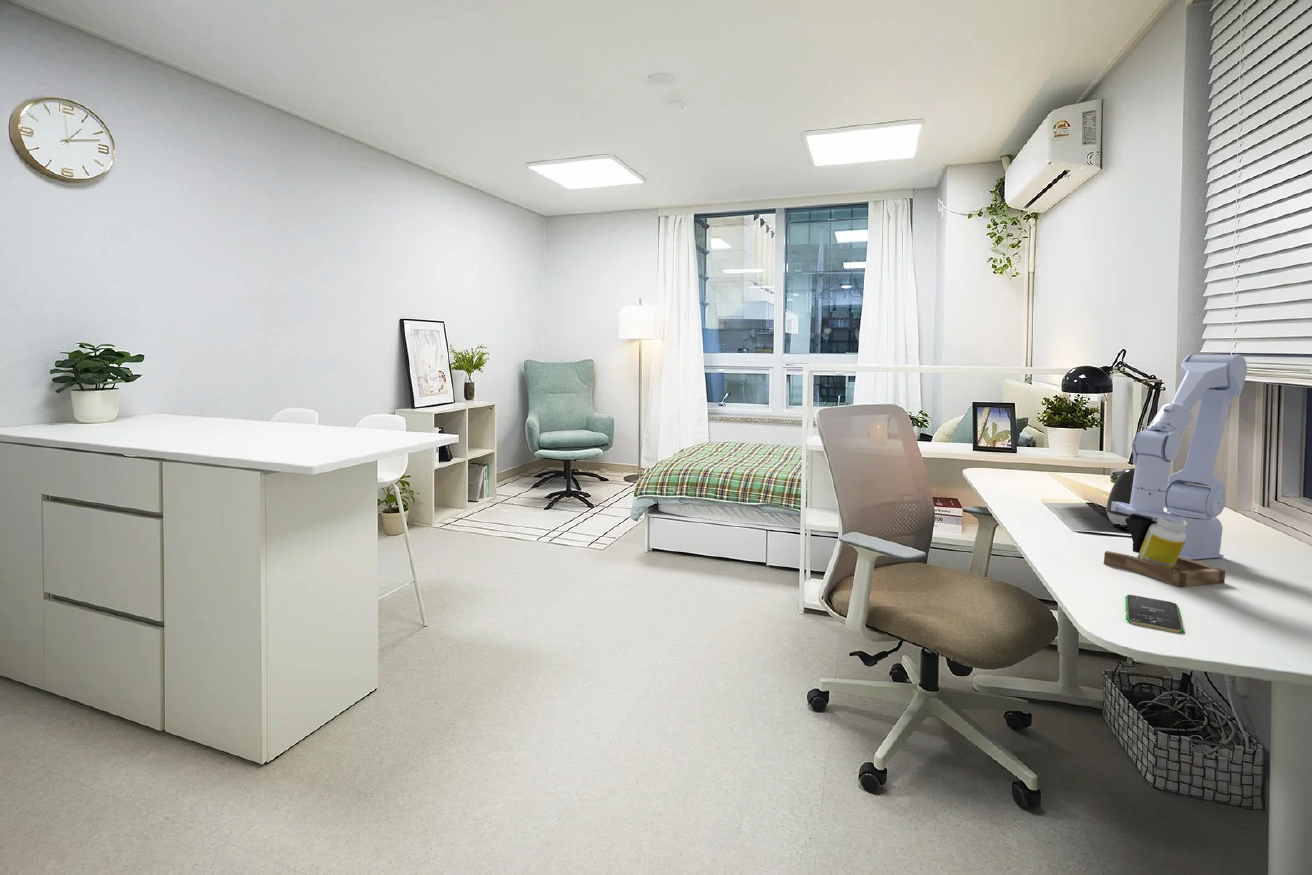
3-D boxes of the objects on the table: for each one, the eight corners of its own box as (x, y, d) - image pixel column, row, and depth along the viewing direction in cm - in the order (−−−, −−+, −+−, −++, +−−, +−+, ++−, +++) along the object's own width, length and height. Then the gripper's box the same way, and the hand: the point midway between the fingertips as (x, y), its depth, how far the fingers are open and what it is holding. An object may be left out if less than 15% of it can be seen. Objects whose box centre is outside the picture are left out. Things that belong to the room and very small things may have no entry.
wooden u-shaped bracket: (1156, 558, 144) (1157, 547, 144) (1231, 582, 129) (1233, 569, 129) (1100, 562, 140) (1101, 551, 140) (1171, 587, 126) (1172, 575, 125)
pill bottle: (1179, 575, 134) (1199, 528, 129) (1147, 573, 134) (1167, 526, 129) (1159, 558, 139) (1178, 512, 135) (1129, 556, 139) (1147, 510, 135)
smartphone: (1177, 602, 117) (1184, 631, 105) (1177, 607, 117) (1184, 636, 105) (1125, 593, 121) (1126, 619, 109) (1125, 598, 121) (1125, 625, 109)
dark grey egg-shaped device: (1117, 530, 166) (1123, 471, 164) (1097, 520, 176) (1102, 464, 174) (1162, 532, 164) (1168, 472, 162) (1139, 522, 175) (1145, 465, 173)
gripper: (1102, 481, 143) (1094, 542, 145) (1167, 496, 129) (1157, 563, 131) (1129, 481, 144) (1121, 542, 146) (1196, 496, 130) (1185, 563, 132)
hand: (1139, 552), depth 138 cm, fingers closed, pressing on pill bottle
